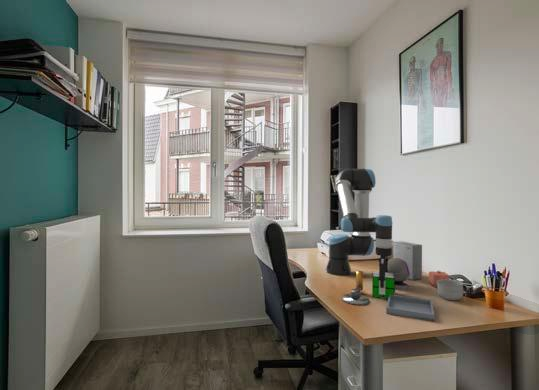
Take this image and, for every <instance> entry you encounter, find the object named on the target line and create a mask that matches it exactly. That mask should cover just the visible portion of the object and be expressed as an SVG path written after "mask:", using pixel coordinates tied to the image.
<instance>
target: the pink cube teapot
mask: <svg viewBox="0 0 539 390" xmlns="http://www.w3.org/2000/svg"><path fill="white" fill-rule="evenodd" d="M442 279H444V280H445V279H448V280H451V279H450V274H448V273H446V272H445V271H441V270H437V271H428V283H429V284H430V285H432V286H433V287H434V288H437V281H438V280H442ZM437 289H438V288H437Z"/></svg>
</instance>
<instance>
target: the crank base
mask: <svg viewBox="0 0 539 390" xmlns="http://www.w3.org/2000/svg"><path fill="white" fill-rule="evenodd" d="M341 300H342V302H343V303H346V304H349V305H354V306H364V305H367V304H369V302H370V298H369V297H367V296H366V295H362V294H360V298H358V299H356V298H352V297H351V293H345V294H343V295H342V296H341Z"/></svg>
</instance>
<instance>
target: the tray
mask: <svg viewBox="0 0 539 390" xmlns="http://www.w3.org/2000/svg"><path fill="white" fill-rule="evenodd" d="M433 304H434V303H433V300H431V299H423V298H417V297H411V296H410V297H409V296H404V295H403V296H402V295H396V294H395V295H390V294H389V298H387V302H386V309H385V311H386V314H387V315H388V314H389V315H395V316H400V317H406V318H412V319H419V320H424V321H425V320H426V321H429V320H431V322H435V310H434V305H433Z"/></svg>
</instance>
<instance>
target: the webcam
mask: <svg viewBox="0 0 539 390" xmlns="http://www.w3.org/2000/svg"><path fill="white" fill-rule="evenodd" d="M387 267H388V271H389V273H393V274H394V277H395V290H398V291H401V290H402V291H404V290H408V288H409V286H408V285H409V284H407V283H406V282H405V281H407V279H408V277H409V269H408V266H407V264H406V262H405V261H404V260H402V259H399V258H393V257H392V258H390V259H389V258H388V265H387Z"/></svg>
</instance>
